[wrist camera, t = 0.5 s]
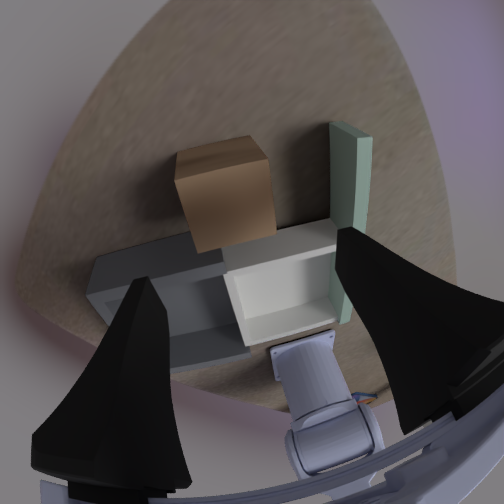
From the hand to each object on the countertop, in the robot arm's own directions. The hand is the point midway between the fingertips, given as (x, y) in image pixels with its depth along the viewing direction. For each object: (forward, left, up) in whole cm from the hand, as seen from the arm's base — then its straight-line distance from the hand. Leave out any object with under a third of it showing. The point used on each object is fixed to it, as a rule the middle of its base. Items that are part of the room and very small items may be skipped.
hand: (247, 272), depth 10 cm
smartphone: (-60, -19, -10) cm, 64 cm away
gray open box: (-10, +5, -9) cm, 14 cm away
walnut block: (0, 0, -9) cm, 9 cm away
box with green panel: (-6, -3, -9) cm, 11 cm away
